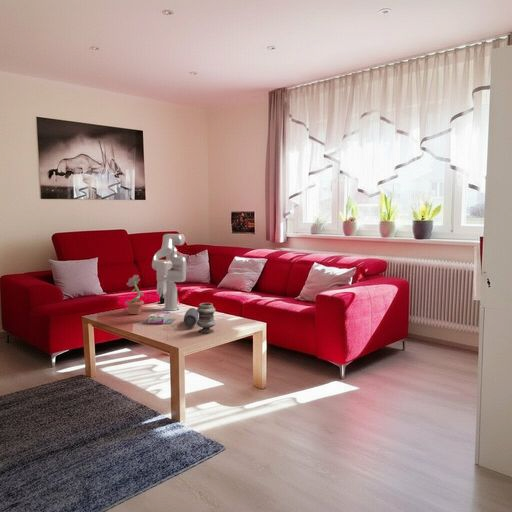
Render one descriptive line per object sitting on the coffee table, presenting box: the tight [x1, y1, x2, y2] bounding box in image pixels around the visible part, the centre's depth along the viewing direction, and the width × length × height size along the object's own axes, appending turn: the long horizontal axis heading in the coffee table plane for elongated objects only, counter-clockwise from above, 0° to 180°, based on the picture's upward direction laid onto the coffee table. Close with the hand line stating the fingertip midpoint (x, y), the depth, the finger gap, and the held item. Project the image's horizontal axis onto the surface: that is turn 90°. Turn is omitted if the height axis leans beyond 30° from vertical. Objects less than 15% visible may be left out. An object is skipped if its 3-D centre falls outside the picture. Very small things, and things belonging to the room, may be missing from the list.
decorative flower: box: [124, 274, 145, 315], centre depth 341 cm, size 15×14×30 cm
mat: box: [142, 318, 177, 325], centre depth 319 cm, size 14×20×1 cm
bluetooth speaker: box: [183, 307, 199, 328], centre depth 309 cm, size 23×9×10 cm, turn 4°
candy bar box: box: [147, 311, 171, 325], centre depth 318 cm, size 11×5×16 cm
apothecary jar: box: [196, 302, 216, 334], centre depth 291 cm, size 12×12×18 cm
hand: (162, 303), depth 325 cm, fingers closed
